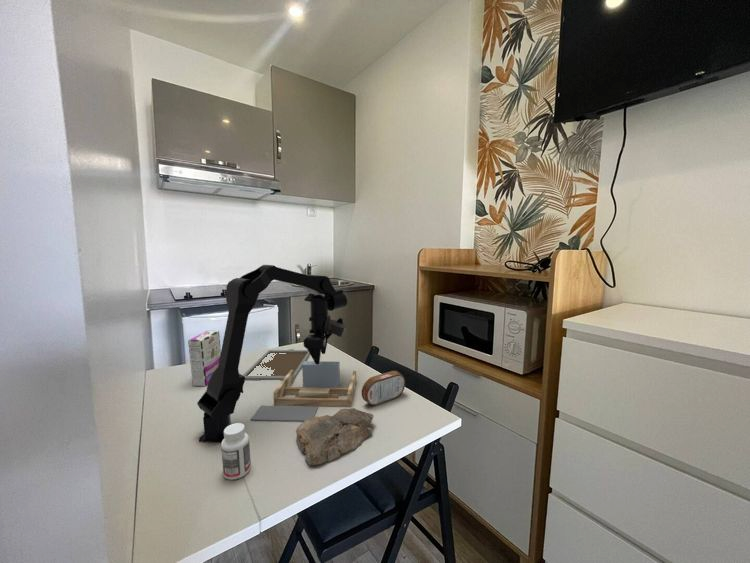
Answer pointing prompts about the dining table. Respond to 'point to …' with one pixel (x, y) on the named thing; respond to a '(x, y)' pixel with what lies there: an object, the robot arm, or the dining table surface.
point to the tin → (383, 387)
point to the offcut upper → (314, 393)
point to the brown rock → (333, 435)
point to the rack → (286, 389)
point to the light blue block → (321, 374)
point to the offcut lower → (328, 397)
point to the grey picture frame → (280, 364)
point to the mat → (284, 413)
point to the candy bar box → (204, 356)
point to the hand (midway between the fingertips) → (320, 358)
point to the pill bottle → (235, 451)
